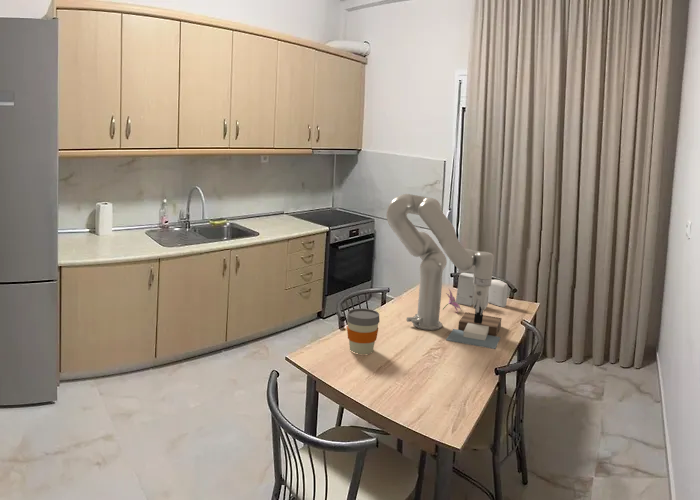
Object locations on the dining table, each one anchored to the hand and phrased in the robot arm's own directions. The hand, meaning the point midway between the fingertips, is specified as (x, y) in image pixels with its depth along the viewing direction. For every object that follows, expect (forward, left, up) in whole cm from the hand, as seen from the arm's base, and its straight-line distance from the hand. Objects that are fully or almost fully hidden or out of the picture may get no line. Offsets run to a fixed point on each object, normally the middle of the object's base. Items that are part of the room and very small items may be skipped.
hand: (478, 322), depth 257 cm
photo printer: (+31, +35, -5) cm, 46 cm away
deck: (+4, +5, -5) cm, 8 cm away
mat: (-5, -6, -5) cm, 9 cm away
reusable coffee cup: (-55, -8, -5) cm, 56 cm away
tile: (-3, -4, -4) cm, 6 cm away
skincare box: (+16, +39, -5) cm, 42 cm away
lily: (+3, +30, -5) cm, 30 cm away
